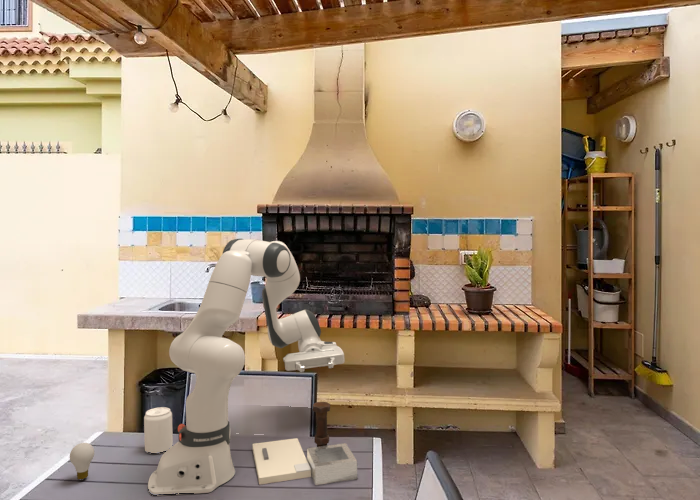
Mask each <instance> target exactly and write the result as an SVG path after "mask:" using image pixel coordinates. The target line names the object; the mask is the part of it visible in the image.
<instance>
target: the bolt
mask: <svg viewBox="0 0 700 500" xmlns="http://www.w3.org/2000/svg"><path fill="white" fill-rule="evenodd" d="M312 412H315V416H316V434H314V443H315V444H316V447H321V446H328V444H329V443H330V435H329V434H328V412H331V403H330V402H328V401H317V402H315V403H313V404H312Z"/></svg>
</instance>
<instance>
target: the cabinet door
mask: <svg viewBox="0 0 700 500" xmlns="http://www.w3.org/2000/svg"><path fill="white" fill-rule="evenodd" d="M252 452H253V453H252V454H253V460H254V465H255V469H256V475H257V479H258V484H259V486H260V485H267V484H273V483H274V484H275V483H280V482H286V481H292V480H299V479H307V478H312V476H311V468H310V466H309V463H308V462H307V457H306V456H305V453H304V450H303V448H302V445H301V443H300V442H299V438H297V437H296V438H288V439H287V438H286V439H279V440H271V441H266V442H265V441H264V442H258V443H257V442H255V443H252Z"/></svg>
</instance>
